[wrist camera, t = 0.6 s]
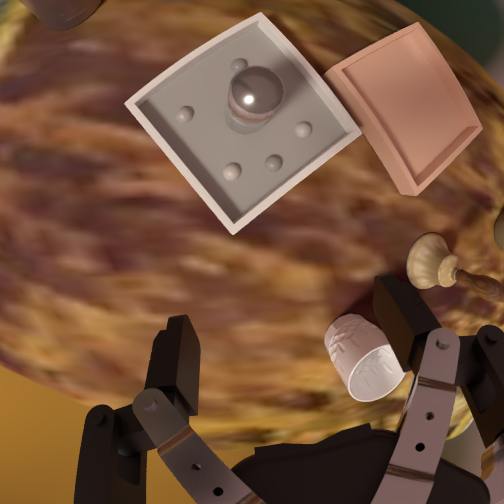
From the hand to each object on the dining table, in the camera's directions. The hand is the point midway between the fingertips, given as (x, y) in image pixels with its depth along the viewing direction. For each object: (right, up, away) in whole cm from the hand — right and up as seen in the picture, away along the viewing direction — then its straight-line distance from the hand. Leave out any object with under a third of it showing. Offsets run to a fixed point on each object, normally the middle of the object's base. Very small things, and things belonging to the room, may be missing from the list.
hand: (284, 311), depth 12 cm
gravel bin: (-2, +17, +19) cm, 26 cm away
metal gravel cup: (-2, +17, +17) cm, 24 cm away
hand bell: (+24, +1, +26) cm, 36 cm away
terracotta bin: (+19, +22, +21) cm, 36 cm away
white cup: (+12, -9, +27) cm, 31 cm away
